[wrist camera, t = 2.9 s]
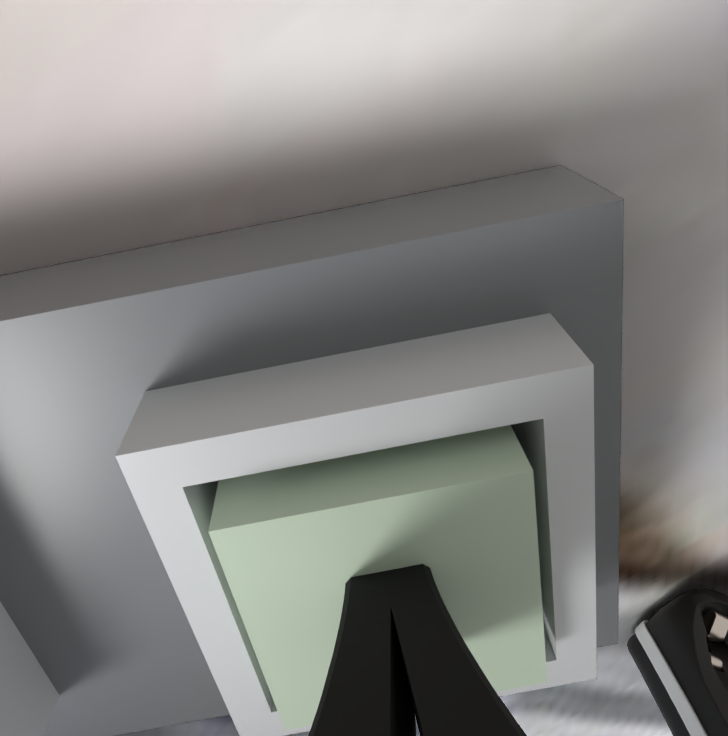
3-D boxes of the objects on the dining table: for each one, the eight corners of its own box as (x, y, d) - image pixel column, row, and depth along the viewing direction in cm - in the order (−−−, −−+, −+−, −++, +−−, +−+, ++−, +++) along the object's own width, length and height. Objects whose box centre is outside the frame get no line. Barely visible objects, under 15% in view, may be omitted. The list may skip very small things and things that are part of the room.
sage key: (522, 613, 13) (547, 681, 12) (287, 657, 14) (284, 730, 12) (505, 414, 11) (533, 471, 10) (221, 468, 11) (208, 531, 10)
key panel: (573, 555, 18) (656, 720, 14) (-172, 693, 19) (-319, 897, 14) (561, 165, 13) (685, 232, 9) (-464, 367, 14) (-832, 528, 9)
